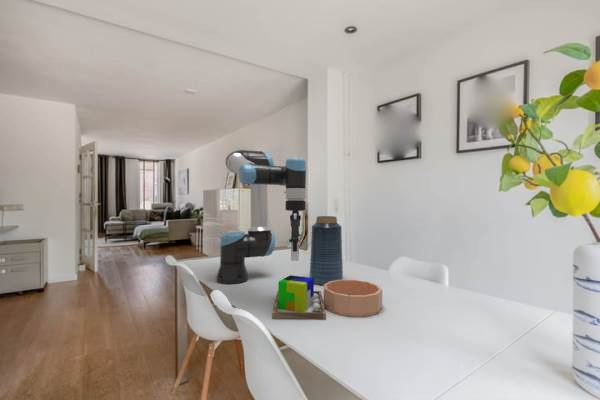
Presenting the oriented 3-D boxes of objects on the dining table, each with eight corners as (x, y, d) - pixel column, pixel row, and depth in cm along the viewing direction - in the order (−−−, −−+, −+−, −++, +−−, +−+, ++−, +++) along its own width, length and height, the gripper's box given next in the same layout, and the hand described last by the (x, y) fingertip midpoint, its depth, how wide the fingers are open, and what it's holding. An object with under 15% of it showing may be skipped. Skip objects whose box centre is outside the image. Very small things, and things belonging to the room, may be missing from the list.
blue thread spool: (348, 280, 148) (348, 216, 148) (333, 288, 135) (334, 218, 135) (319, 275, 157) (319, 215, 157) (303, 282, 143) (303, 216, 143)
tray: (277, 295, 124) (277, 290, 124) (321, 295, 124) (321, 291, 124) (272, 318, 100) (272, 313, 100) (325, 319, 100) (325, 313, 100)
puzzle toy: (313, 304, 115) (313, 278, 115) (303, 313, 106) (303, 284, 105) (290, 300, 119) (290, 275, 119) (278, 308, 110) (278, 281, 110)
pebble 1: (311, 299, 120) (311, 292, 119) (318, 299, 119) (318, 292, 119) (311, 302, 116) (311, 294, 116) (319, 302, 116) (319, 294, 116)
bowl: (322, 296, 124) (322, 279, 124) (373, 296, 124) (373, 279, 124) (326, 316, 102) (326, 296, 102) (388, 317, 102) (388, 296, 102)
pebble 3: (312, 309, 108) (312, 301, 108) (320, 309, 108) (320, 301, 108) (312, 313, 106) (312, 304, 105) (320, 313, 105) (320, 304, 105)
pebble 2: (312, 302, 114) (312, 296, 113) (319, 303, 114) (320, 296, 113) (312, 308, 111) (312, 301, 110) (320, 308, 111) (320, 302, 110)
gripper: (287, 199, 124) (286, 250, 124) (283, 200, 99) (283, 263, 99) (305, 199, 124) (304, 250, 124) (306, 200, 99) (305, 264, 99)
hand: (295, 256), depth 112 cm, fingers open, 13 cm apart
